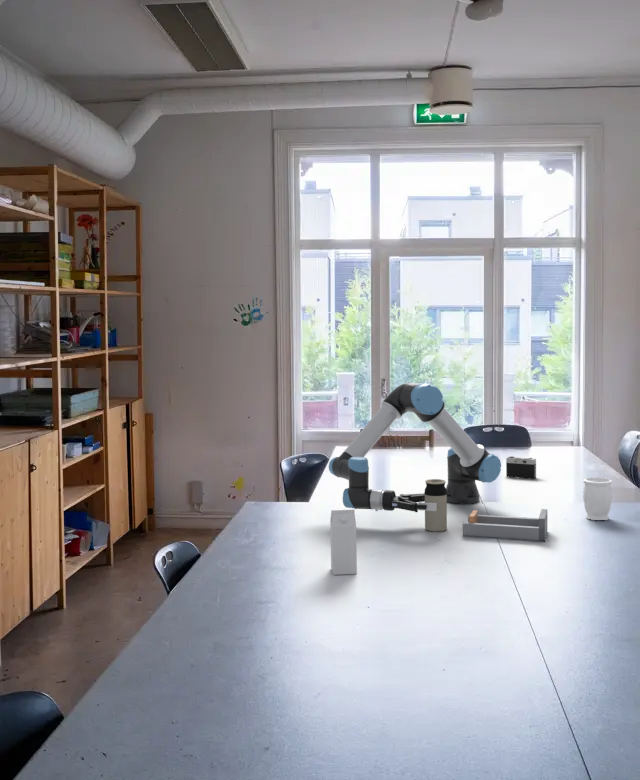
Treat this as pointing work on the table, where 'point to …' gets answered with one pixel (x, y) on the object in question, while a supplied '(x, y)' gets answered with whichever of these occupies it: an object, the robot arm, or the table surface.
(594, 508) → the jar
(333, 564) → the milk carton
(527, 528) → the grey open tray
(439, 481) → the travel mug
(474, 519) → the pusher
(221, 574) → the table surface
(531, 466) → the camera
